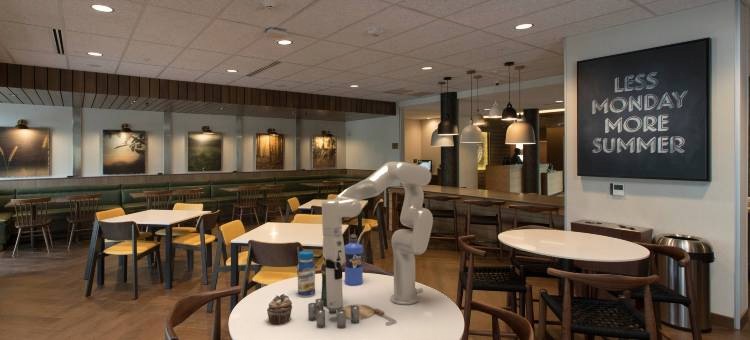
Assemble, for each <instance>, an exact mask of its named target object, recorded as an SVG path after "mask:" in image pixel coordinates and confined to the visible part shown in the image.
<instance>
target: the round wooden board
mask: <svg viewBox="0 0 750 340" xmlns="http://www.w3.org/2000/svg"><path fill="white" fill-rule="evenodd" d="M354 305H355V304H349V305H346V306H343V308H342V309H340V310H345V311H346V320H347V319H348V320H351V306H354ZM356 305H357V306H359V320H365V319H369V318H371V317H372V316H374V315H375V312H374V309H375V308H373V307H372V306H369V305H366V304H356Z"/></svg>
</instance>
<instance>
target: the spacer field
mask: <svg viewBox="0 0 750 340" xmlns="http://www.w3.org/2000/svg"><path fill="white" fill-rule="evenodd" d="M307 305H308V306H307V308H308V309H307V315H308V321H310V322H314V321H316V328H318V329H324V328H325V327H326V310H325V309H324V305H323V299H321V298H317V299H315V302H309V303H308V304H307ZM353 305H354V306H351V319H350V323H351V324H353V325H357V324H359V323H360V319H359V306H357V305H358V304H353ZM328 313H329V314H331V315H333V314H334V315H335V314H336V324H337V325H336V326H337V328H338V329H340V330H342V329H346V327H347V326H346V325H347V323H346V322H347V319H346V311H345V310H337V311H331V310H328Z"/></svg>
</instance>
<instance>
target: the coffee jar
mask: <svg viewBox="0 0 750 340" xmlns="http://www.w3.org/2000/svg"><path fill="white" fill-rule="evenodd" d="M320 272H321V280H322V281H321V293H320V295H321V297H320V299H323V307H324V306H325V307H327V292H326V271H325V262H324V263H323V264H321V268H320Z"/></svg>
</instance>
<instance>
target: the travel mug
mask: <svg viewBox="0 0 750 340" xmlns="http://www.w3.org/2000/svg"><path fill="white" fill-rule="evenodd" d="M337 261H339V259H337ZM338 264H339V262H338V263H337V265H338ZM334 269H335V265H334V262H333V261H330V260H326V292H327V306H326V309H327V310H328V311H329V310H331V311H336V312H337V311H338V310H340V309H342V308H343V307H344V304H343V303H344V302H343V301H344V299H343V277H342V278H341V279H337V280H335V274H334Z"/></svg>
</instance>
